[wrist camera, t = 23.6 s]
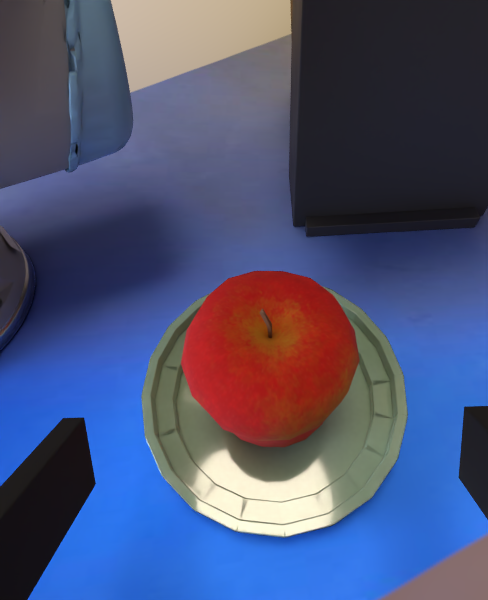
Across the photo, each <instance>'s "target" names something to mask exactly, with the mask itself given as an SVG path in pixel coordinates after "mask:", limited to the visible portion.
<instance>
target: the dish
mask: <svg viewBox="0 0 488 600" xmlns="http://www.w3.org/2000/svg"><path fill="white" fill-rule="evenodd" d="M322 287H323V286H322ZM323 288H324V289H326V290H327V291H329V292H330V293H331V294H333V296H334V297H335V298H336V300H337V301H338V302H339V304H340V305H341V307H342V309H343V311H344V312H345V314H346V316H347V318H348V319H349V321H350V323H351V325H352V326H353V328H354V330H355V336H356V342H357V348H358V354H359V360H360V361H359V364H358V366H357V369H356V372H355V375H354V377H353V380H352V383H351V385H350V388H349V391H348V393H347V394H346V396H345V397H344V399H343V400H342V402H341V403H340V404H339V405H338V406H337V407H336V409H335V410H334V411H333V412H332V413H331V414H330V415H329V416H328V417H327V418H326V419H325V421H324V422H323V424H322V425H321V426H320V427H319V428H318V429H316V430H315V431H314V432H313V433H312V434H311V435H310V436H309V437H308V438H307V439H305V440H303V441H300V442H297V443H295V444H292V445H290V446H287V447H262V446H258V445H255V444H252V443H249V442H246V441H243V440H241V439H239V438H238V437H237V436H236V435H235V434H234V433H231V432H229V431H226V430H223V429H222V428H221V427H220V425H219V424H218V423H217V422H216V421H215V420H214V419H213V418H212V417H211V416H210V414H209V413H208V412H207V411H206V410H205V409H204V408H203V407H202V406H201V405H200V404H199V403H198V402H197V401H196V400H195V399H194V397H193V396H192V394H191V392H190V389H189V386H188V383H187V380H186V377H185V374H184V371H183V368H182V366H181V360H182V354H183V348H184V342H185V337H186V331H187V329H188V327H189V326H190V324H191V322H192V320H193V319H194V317H195V315H196V314H197V312H198V311H199V309H200V307H201V306H202V304H203V302H204V301H205V299H206V298H207V296H208V295H209V294H208V295H206V296H204V297H202V298H200V299H198V300H196V301H195V302H194V303H193V304H192V305H191V306H189V307H188V308H187V309H186V310H185V311H184V312H183V313H182V314H181V315H180V316H179V317H178V318H177V319H176V320H175V321H174V322H173V323H172V324H171V325H170V326H169V327H168V328H167V330H166V332H165V333H164V335H163V337H162V339H161V340H160V342H159V344H158V345H157V347H156V349H155V351H154V352H153V354H152V356H151V358H150V361H149V365H148V370H147V374H146V378H145V383H144V387H143V391H142V409H143V421H144V433H145V438H146V441H147V443H148V445H149V447H150V450H151V452H152V454H153V457H154V459H155V461H156V463H157V466H158V468H159V470H160V473H161V475H162V476H163V478H164V479H165V480H166V481H167V482H168V483H169V484H170V485H171V486H172V488H173V489H174V490H175V491H176V492H177V493H178V494H179V495H180V496H181V497H182V498H183V499H184V500H185V501H186V503H187V504H188V505H189V506H190V507H191V508H192V509H193V510H194V511H196V512H198V513H200V514H202V515H204V516H206V517H208V518H210V519H212V520H214V521H216V522H218V523H220V524H222V525H224V526H226V527H228V528H229V529H231V530H233V531H235V532H239V533H247V534H255V535H264V536H273V537H281V538H287V537H290V536H294V535H298V534H302V533H306V532H310V531H314V530H318V529H322V528H326V527H329V526H332V525H334V524H336V523H337V522H339V521H340V520H341V519H343V518H344V517H346V516H347V515H348V514H350V513H351V512H353V511H354V510H355V509H357V508H358V507H360V506H361V505H363V504H364V503H365V502H367V501H368V500H370V499H371V498H372V497H373V496H374V494H375V493H376V491H377V490H378V488H379V487H380V485H381V484H382V482H383V481H384V479H385V478H386V476H387V475H388V473H389V472H390V470H391V469H392V467H393V466H394V464H395V463H396V461H397V459H398V456H399V452H400V448H401V444H402V439H403V435H404V431H405V427H406V423H407V418H408V417H407V416H408V412H407V402H406V393H405V383H404V375H403V372H402V370H401V368H400V366H399V363H398V361H397V359H396V357H395V354H394V352H393V350H392V348H391V345H390V343H389V341H388V339H387V337H386V336H385V335H384V334H383V333H382V332H381V330H380V329H379V328H378V327H377V326H376V325H375V324H374V322H373V321H372V320H371V319H370V318H369V317H368V316H367V314H366V313H365V312H364V311H363V310H362V309H361V308H359V307H358V306H356V305H355V304H353V303H352V302H350V301H349V300H347V299H345V298H344V297H342V296H341V295H339V294H338V293H336V292H334V291H333V290H331V289H329V288H326V287H323ZM211 293H212V292H211ZM211 293H210V294H211Z"/></svg>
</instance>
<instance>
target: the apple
mask: <svg viewBox="0 0 488 600" xmlns="http://www.w3.org/2000/svg"><path fill="white" fill-rule="evenodd" d="M359 361H360V360H359V354H358V348H357V342H356V336H355V330H354V328H353V326H352V325H351V323H350V321H349V319H348V318H347V316H346V314H345V312H344V311H343V309H342V307H341V305H340V304H339V302H338V301H337V300H336V298H335V297H334V296H333V294H331V293H330V292H329V291H327V290H326V289H324V288H323V287H322V286H320V285H319V284H318V283H316V282H315V281H314V280H312V279H311V278H308V277H304V276H300V275H296V274H292V273H288V272H284V271H253V272H250V273H246V274H243V275H239V276H236V277H232V278H228V279H227V280H226V281H225V282H224V283H222V284H221V285H220V286H219V287H218V288H217V289H215V290H214V291H213V292H212V293H211V294H209V295H208V296H207V298H206V299H205V301H204V302H203V304H202V306H201V307H200V309H199V311H198V312H197V314H196V315H195V317H194V319H193V320H192V322H191V324H190V326H189V327H188V329H187V331H186V337H185V342H184V348H183V354H182V360H181V366H182V368H183V371H184V374H185V377H186V380H187V383H188V386H189V389H190V392H191V394H192V396H193V397H194V399H195V400H196V401H197V402H198V403H199V404H200V405H201V406H202V407H203V408H204V409H205V410H206V411H207V412H208V413H209V414H210V416H211V417H212V418H213V419H214V420H215V421H216V422H217V423H218V424H219V425H220V427H221V428H222V429H223V430H226V431H229V432H231V433H234V434H235V435H236V436H237V437H238V438H239V439H241V440H243V441H246V442H249V443H252V444H255V445H258V446H262V447H287V446H290V445H292V444H295V443H297V442H300V441H303V440H305V439H307V438H308V437H309V436H310V435H311V434H312V433H313V432H314V431H315V430H316V429H318V428H319V427H320V426H321V425H322V424H323V422H324V421H325V419H326V418H327V417H328V416H329V415H330V414H331V413H332V412H333V411H334V410H335V409H336V407H337V406H338V405H339V404H340V403H341V402H342V400H343V399H344V397H345V396H346V394H347V393H348V391H349V388H350V385H351V383H352V380H353V377H354V375H355V372H356V369H357V366H358V364H359Z"/></svg>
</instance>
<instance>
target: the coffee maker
mask: <svg viewBox="0 0 488 600" xmlns="http://www.w3.org/2000/svg"><path fill="white" fill-rule="evenodd" d="M289 180H290V192H291V203H292V214H293V225H294V226H305V230H306V236H326V235H344V234H362V233H381V232H399V231H417V230H436V229H454V228H473V227H475V225H476V224H477V222H478V221H479V219H480V216H482V215H483V214H484V212H485V210H486V209H487V207H488V0H293V9H292V57H291V104H290V152H289Z"/></svg>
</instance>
